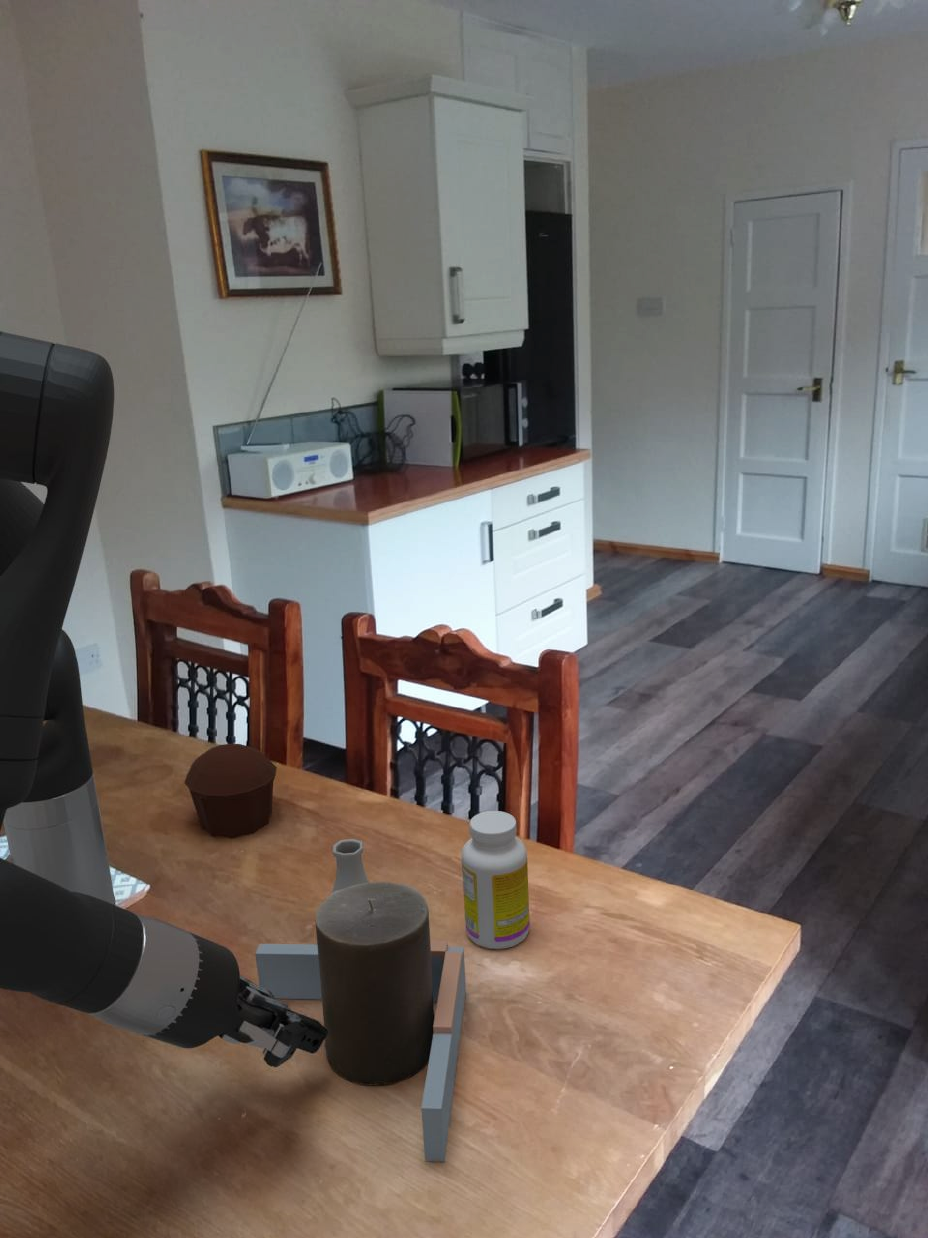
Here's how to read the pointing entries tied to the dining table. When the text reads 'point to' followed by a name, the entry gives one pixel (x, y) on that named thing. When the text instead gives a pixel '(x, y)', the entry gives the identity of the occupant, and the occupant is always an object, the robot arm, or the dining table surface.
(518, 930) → the supplement bottle
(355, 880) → the flask
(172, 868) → the dining table surface
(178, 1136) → the dining table surface
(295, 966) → the corner arena
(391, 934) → the pillar candle
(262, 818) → the muffin
